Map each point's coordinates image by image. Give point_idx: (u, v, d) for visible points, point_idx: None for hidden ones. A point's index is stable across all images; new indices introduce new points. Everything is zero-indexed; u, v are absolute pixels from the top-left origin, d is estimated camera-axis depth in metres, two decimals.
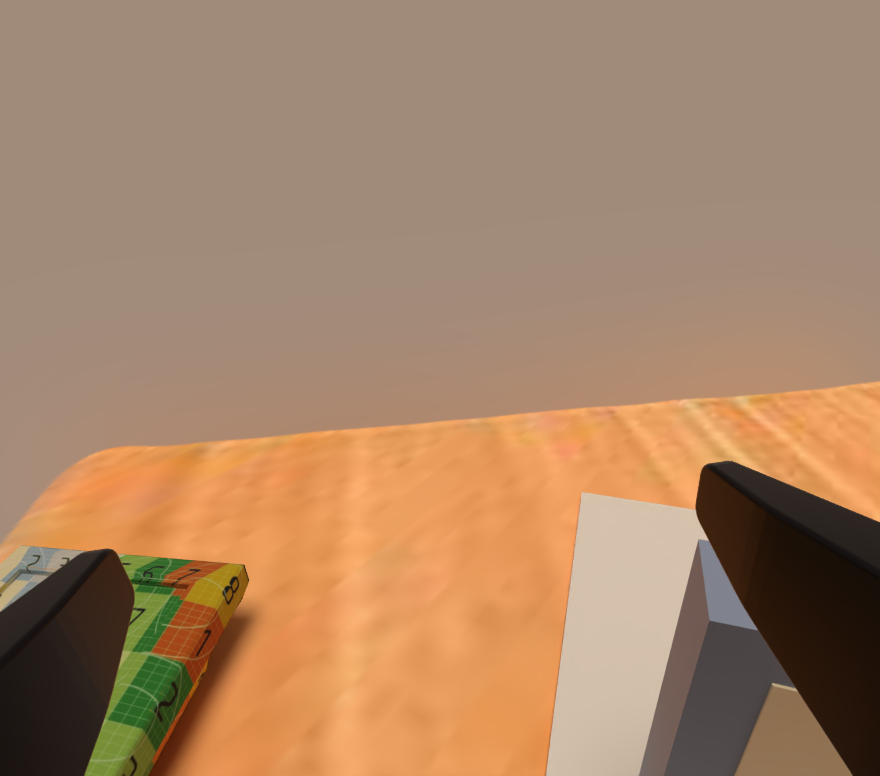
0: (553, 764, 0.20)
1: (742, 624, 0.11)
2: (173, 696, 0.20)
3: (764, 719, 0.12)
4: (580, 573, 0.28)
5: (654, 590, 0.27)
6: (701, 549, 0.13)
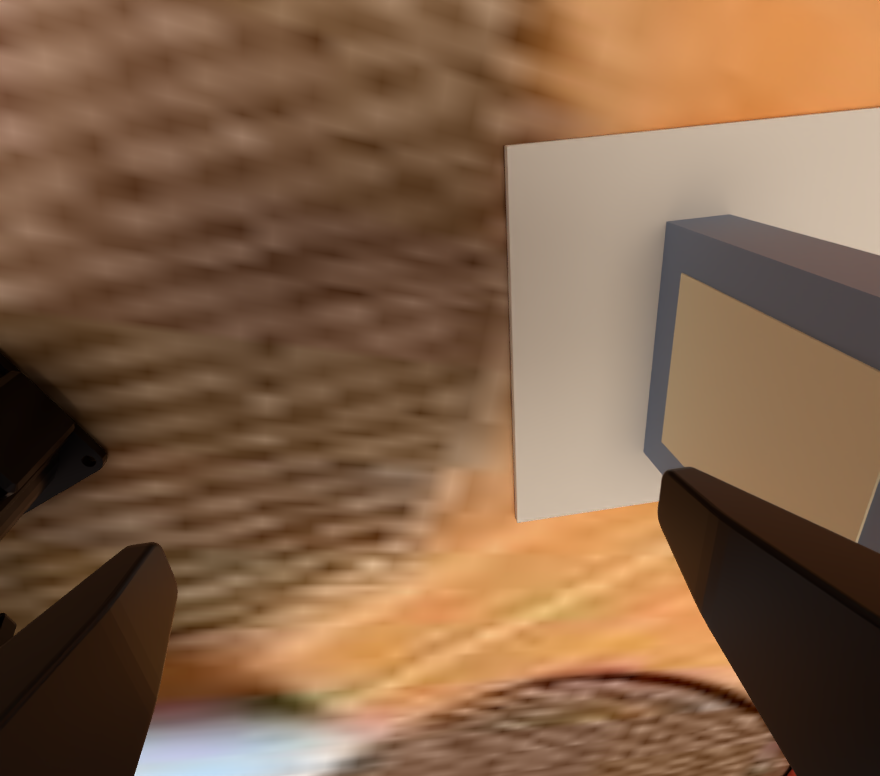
0: (745, 128, 0.19)
1: None
2: None
3: (860, 367, 0.12)
4: None
5: None
6: None
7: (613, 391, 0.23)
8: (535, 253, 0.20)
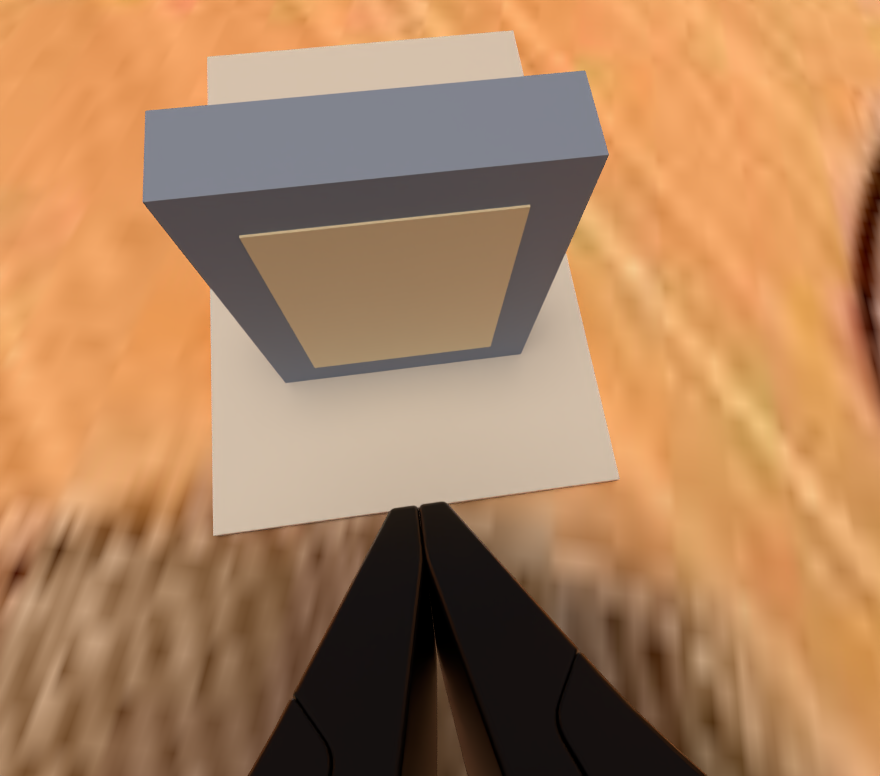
0: (215, 336, 0.23)
1: (173, 196, 0.11)
2: None
3: (258, 263, 0.14)
4: None
5: None
6: (146, 123, 0.12)
7: (450, 398, 0.23)
8: (307, 497, 0.21)
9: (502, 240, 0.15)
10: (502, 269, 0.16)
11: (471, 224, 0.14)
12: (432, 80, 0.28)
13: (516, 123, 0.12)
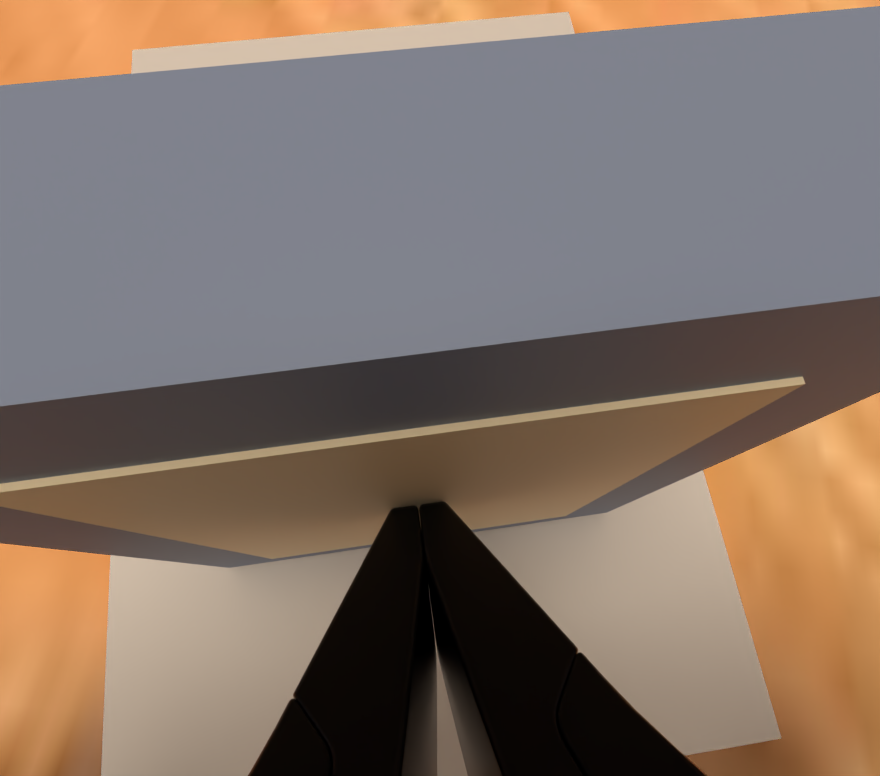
0: None
1: None
2: None
3: (66, 515, 0.05)
4: None
5: None
6: None
7: None
8: None
9: (681, 433, 0.06)
10: (646, 462, 0.07)
11: (627, 421, 0.05)
12: None
13: (833, 154, 0.04)
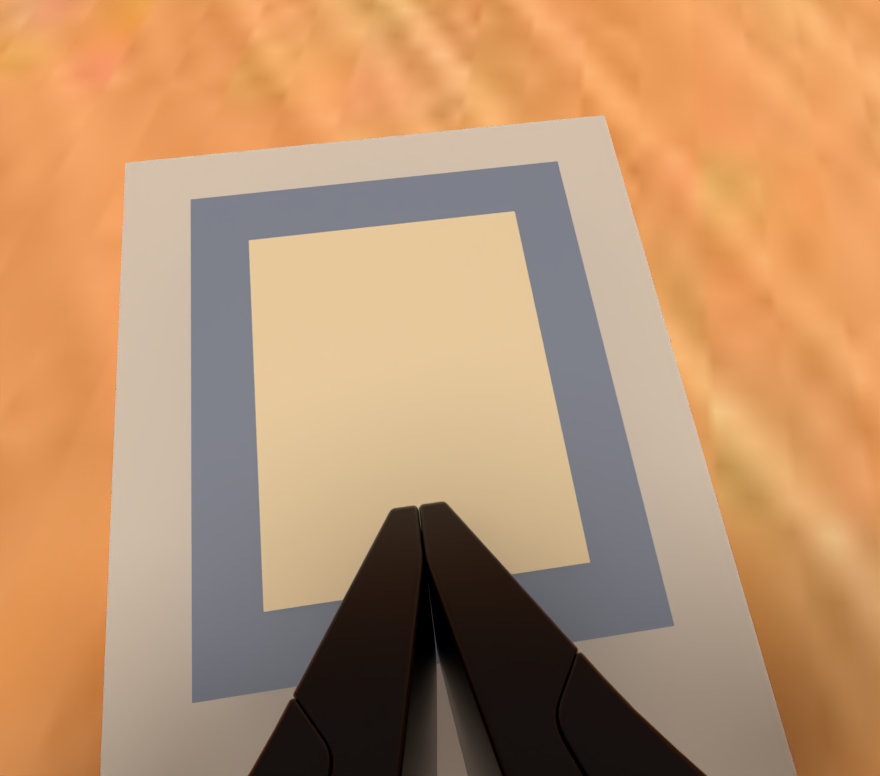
0: (112, 702, 0.13)
1: (215, 198, 0.15)
2: None
3: (254, 280, 0.14)
4: (133, 342, 0.16)
5: None
6: None
7: None
8: None
9: (504, 257, 0.14)
10: (523, 311, 0.14)
11: (464, 232, 0.14)
12: None
13: None
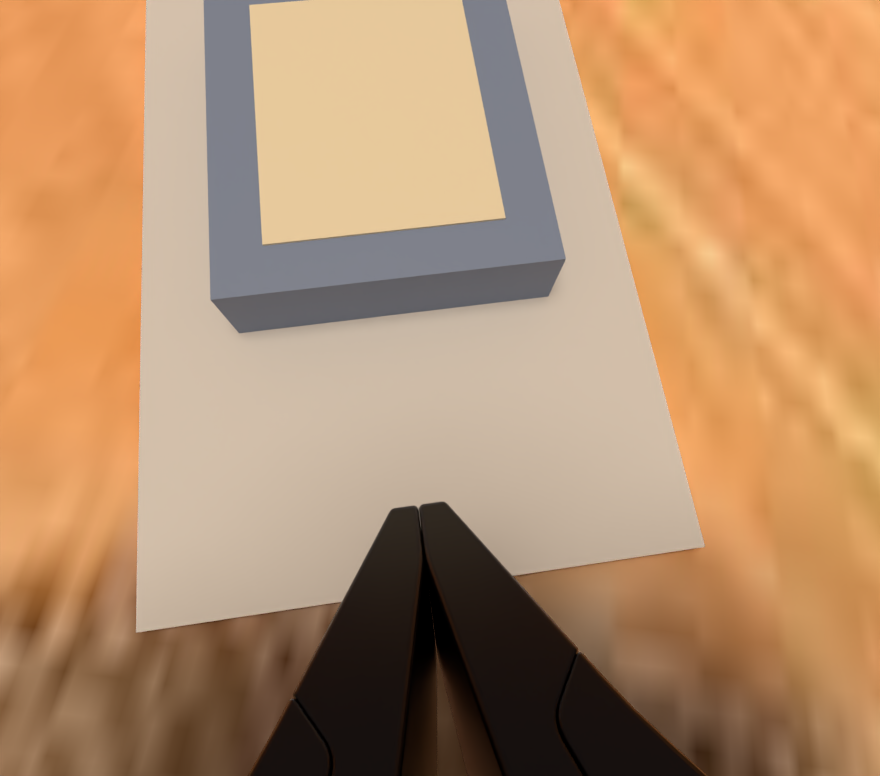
0: (147, 346, 0.17)
1: None
2: None
3: (253, 32, 0.18)
4: (156, 106, 0.20)
5: None
6: None
7: (469, 433, 0.17)
8: (270, 576, 0.15)
9: (450, 19, 0.18)
10: (463, 56, 0.18)
11: (419, 1, 0.18)
12: None
13: None
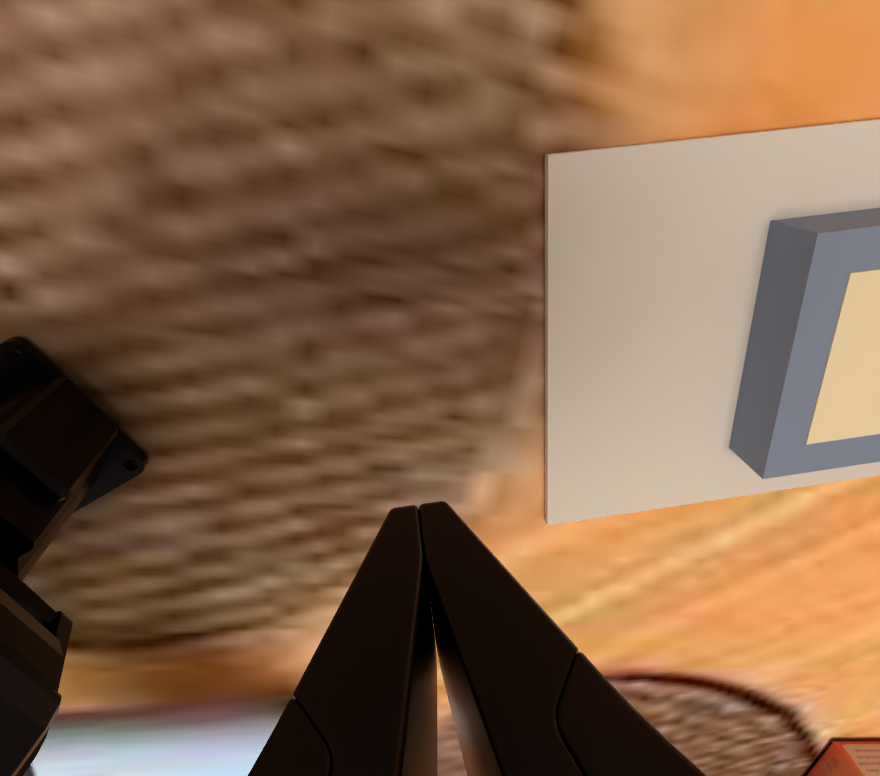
0: (783, 136, 0.19)
1: None
2: None
3: None
4: None
5: None
6: None
7: (645, 396, 0.23)
8: (573, 260, 0.20)
9: None
10: None
11: None
12: None
13: None
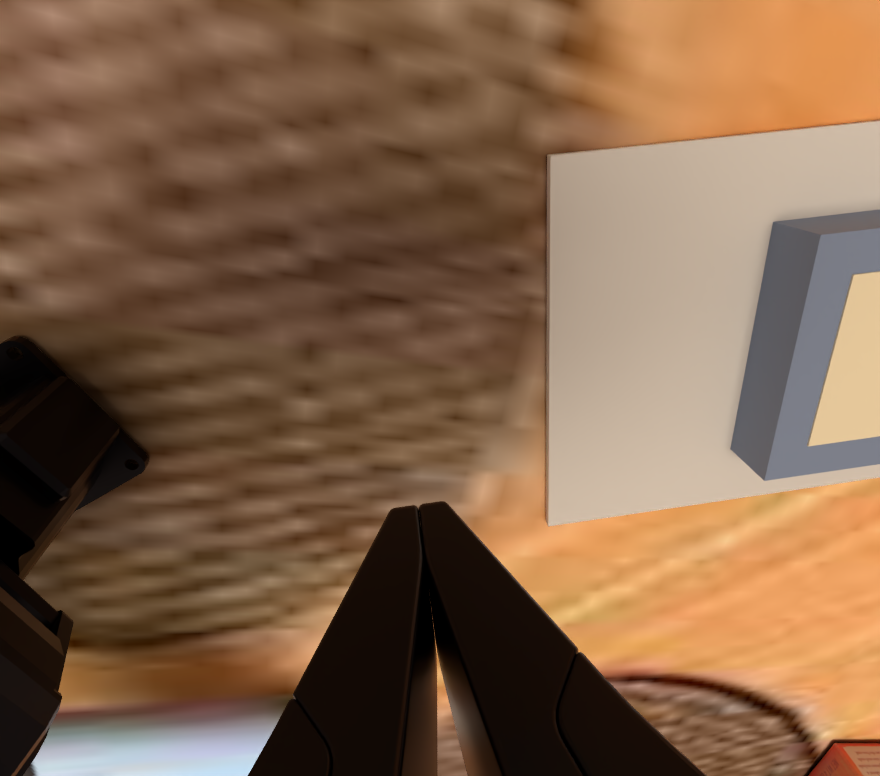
0: (786, 137, 0.19)
1: None
2: None
3: None
4: None
5: None
6: None
7: (647, 397, 0.23)
8: (575, 261, 0.20)
9: None
10: None
11: None
12: None
13: None
